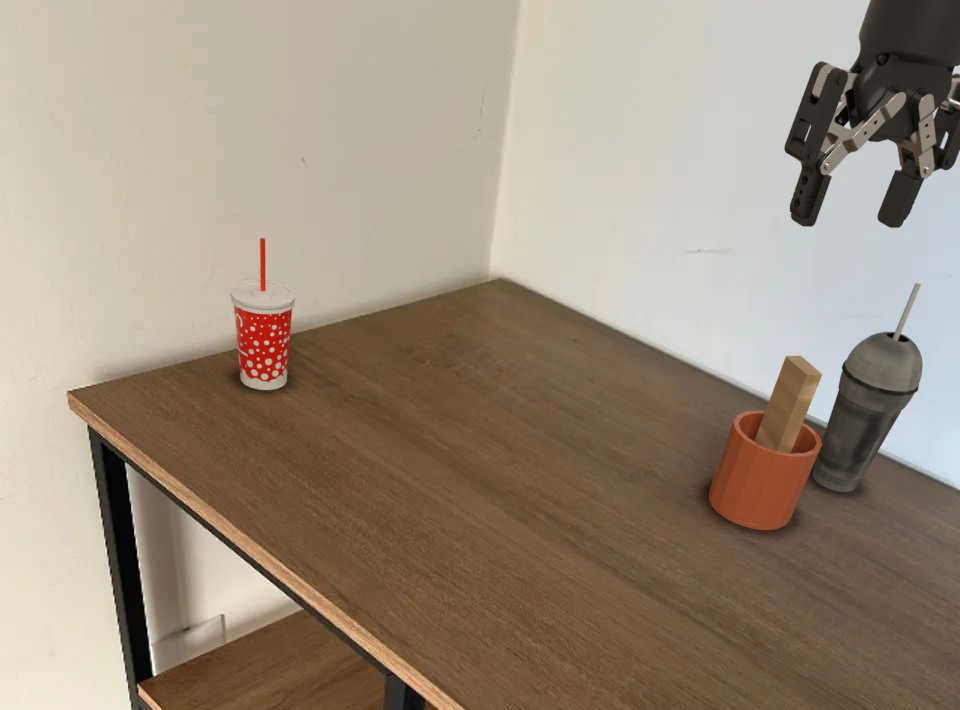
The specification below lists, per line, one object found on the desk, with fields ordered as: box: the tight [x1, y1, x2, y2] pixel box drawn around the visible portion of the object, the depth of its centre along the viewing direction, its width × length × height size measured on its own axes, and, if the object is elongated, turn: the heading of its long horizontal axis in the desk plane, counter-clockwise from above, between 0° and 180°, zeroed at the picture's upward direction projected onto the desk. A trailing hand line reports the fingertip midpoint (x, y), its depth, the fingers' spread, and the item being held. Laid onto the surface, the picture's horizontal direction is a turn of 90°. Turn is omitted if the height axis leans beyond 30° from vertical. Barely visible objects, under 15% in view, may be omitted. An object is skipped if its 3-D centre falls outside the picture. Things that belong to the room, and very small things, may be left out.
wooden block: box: [754, 355, 823, 453], centre depth 87 cm, size 2×4×14 cm, turn 18°
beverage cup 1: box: [229, 237, 296, 391], centre depth 93 cm, size 6×6×14 cm
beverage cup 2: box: [811, 282, 924, 493], centre depth 92 cm, size 7×7×20 cm
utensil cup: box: [708, 410, 822, 531], centre depth 90 cm, size 8×8×8 cm
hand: (845, 223), depth 74 cm, fingers open, 8 cm apart
